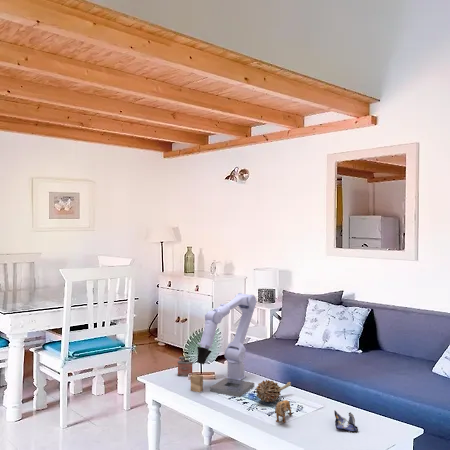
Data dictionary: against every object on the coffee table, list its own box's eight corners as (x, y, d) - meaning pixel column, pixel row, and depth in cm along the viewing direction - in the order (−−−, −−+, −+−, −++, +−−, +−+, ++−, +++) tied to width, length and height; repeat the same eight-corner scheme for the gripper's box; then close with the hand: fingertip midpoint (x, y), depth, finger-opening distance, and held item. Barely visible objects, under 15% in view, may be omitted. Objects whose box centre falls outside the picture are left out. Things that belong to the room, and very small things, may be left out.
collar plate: (225, 381, 246) (225, 377, 246) (254, 386, 239) (254, 382, 239) (209, 391, 232) (209, 387, 232) (239, 397, 225) (239, 392, 225)
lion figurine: (286, 427, 193) (286, 404, 193) (273, 425, 194) (273, 402, 194) (292, 413, 207) (292, 391, 207) (280, 411, 208) (280, 390, 208)
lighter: (193, 374, 257) (193, 356, 257) (192, 377, 253) (192, 357, 253) (178, 374, 258) (178, 355, 258) (176, 376, 254) (176, 357, 254)
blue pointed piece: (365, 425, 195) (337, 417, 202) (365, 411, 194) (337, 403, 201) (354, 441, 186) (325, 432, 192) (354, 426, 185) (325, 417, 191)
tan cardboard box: (194, 388, 236) (194, 374, 236) (202, 390, 234) (202, 375, 233) (190, 390, 233) (190, 376, 233) (199, 392, 231) (199, 377, 231)
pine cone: (267, 409, 211) (267, 386, 211) (250, 403, 217) (250, 381, 217) (297, 396, 227) (297, 374, 227) (280, 391, 233) (280, 370, 233)
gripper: (202, 334, 244) (194, 361, 240) (198, 331, 230) (190, 360, 226) (216, 338, 242) (208, 365, 239) (212, 335, 229) (204, 364, 225)
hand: (200, 363), depth 232 cm, fingers open, 7 cm apart
